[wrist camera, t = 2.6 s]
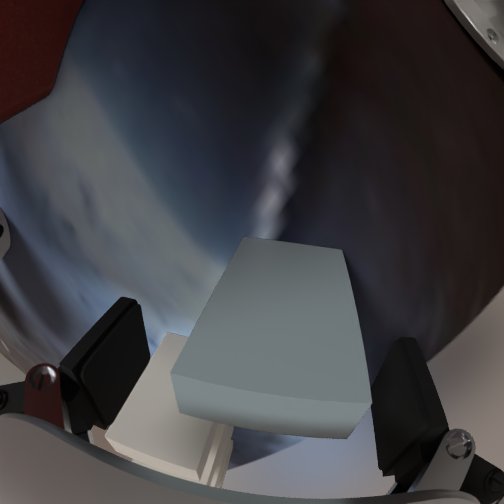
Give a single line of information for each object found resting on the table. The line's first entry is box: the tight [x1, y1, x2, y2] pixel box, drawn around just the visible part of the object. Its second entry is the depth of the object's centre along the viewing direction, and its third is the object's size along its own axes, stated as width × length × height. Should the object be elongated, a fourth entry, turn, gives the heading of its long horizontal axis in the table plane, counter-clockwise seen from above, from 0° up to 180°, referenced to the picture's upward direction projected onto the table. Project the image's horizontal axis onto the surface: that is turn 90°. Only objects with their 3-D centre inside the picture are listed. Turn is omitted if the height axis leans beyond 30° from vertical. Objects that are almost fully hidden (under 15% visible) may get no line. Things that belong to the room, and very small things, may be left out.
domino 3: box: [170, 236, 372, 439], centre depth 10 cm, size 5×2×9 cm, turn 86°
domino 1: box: [105, 332, 219, 481], centre depth 14 cm, size 5×2×9 cm, turn 86°
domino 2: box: [132, 423, 229, 486], centre depth 16 cm, size 5×2×9 cm, turn 86°
